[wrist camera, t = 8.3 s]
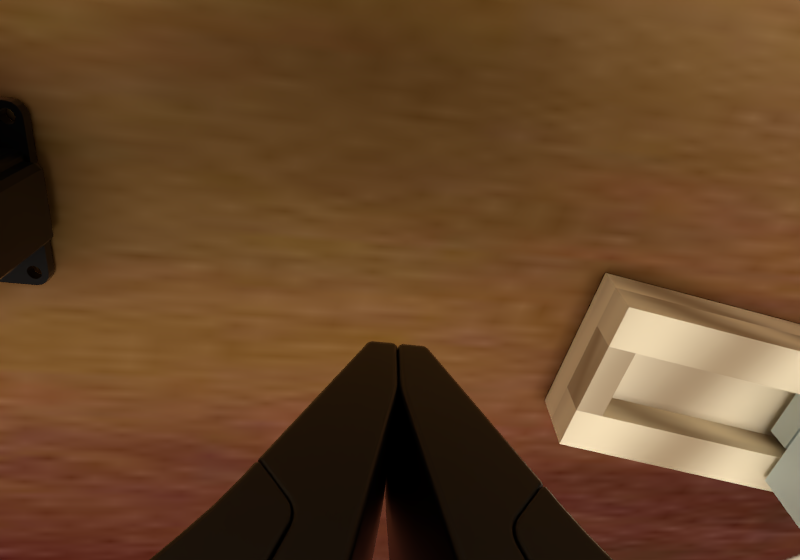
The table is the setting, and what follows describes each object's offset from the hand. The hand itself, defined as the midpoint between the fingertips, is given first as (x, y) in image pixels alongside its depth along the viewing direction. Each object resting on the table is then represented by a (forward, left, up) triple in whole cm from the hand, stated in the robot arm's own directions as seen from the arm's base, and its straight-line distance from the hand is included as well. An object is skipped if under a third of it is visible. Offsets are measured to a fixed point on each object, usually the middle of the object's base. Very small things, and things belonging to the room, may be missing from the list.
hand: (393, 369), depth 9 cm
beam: (+17, -9, -13) cm, 23 cm away
